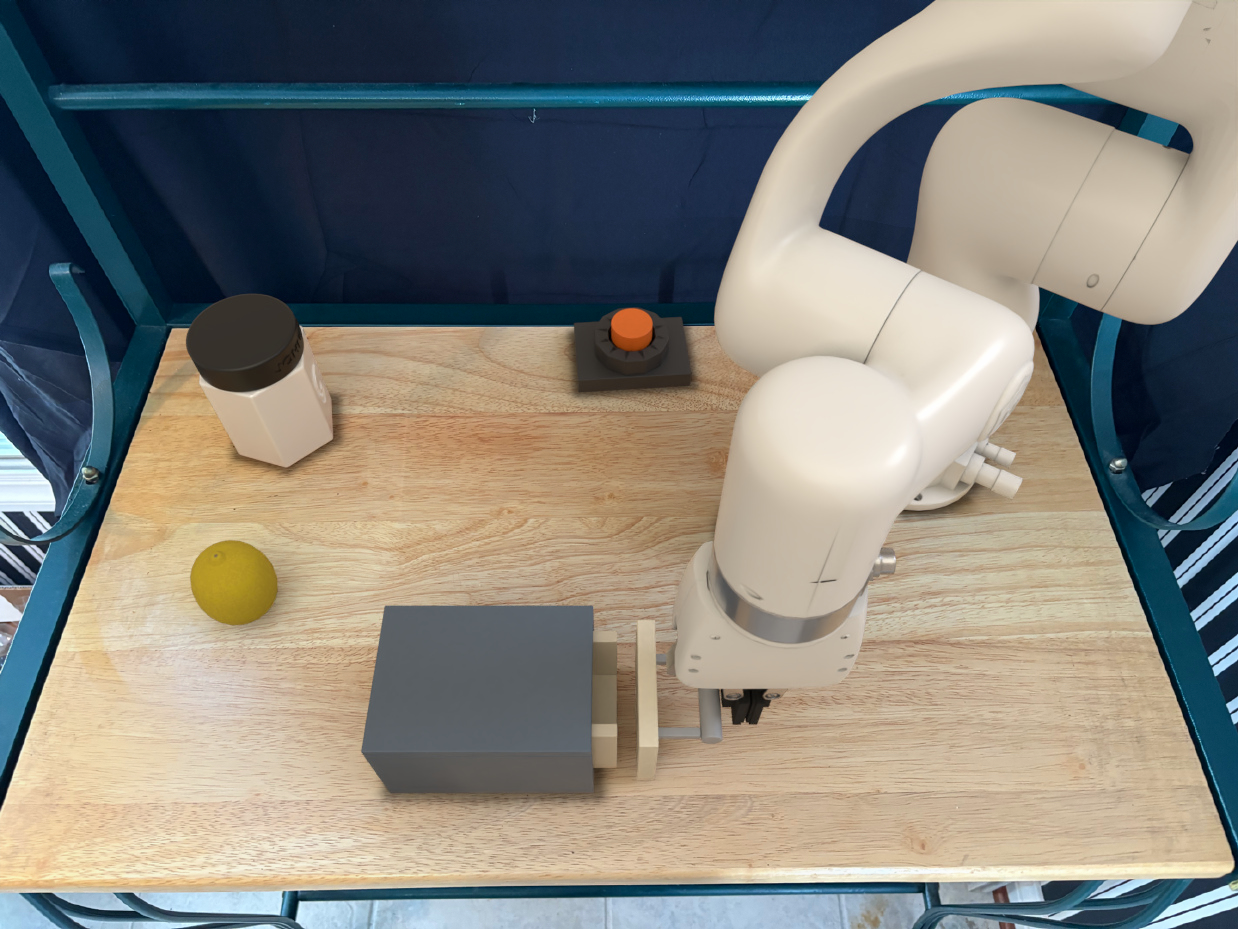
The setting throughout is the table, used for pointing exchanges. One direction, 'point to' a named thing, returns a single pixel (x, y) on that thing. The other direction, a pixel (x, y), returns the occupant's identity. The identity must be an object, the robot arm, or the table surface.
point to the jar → (261, 378)
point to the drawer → (640, 703)
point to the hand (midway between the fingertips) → (742, 702)
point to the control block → (631, 357)
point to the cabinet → (482, 700)
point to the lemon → (233, 582)
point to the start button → (631, 329)
